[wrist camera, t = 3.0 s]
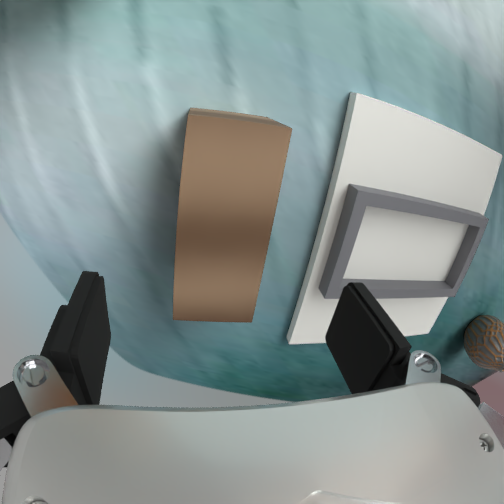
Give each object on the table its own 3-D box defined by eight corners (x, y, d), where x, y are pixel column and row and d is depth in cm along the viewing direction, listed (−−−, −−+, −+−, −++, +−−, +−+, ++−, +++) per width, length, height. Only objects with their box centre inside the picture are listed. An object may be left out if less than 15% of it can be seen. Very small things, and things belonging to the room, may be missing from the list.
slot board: (350, 92, 19) (367, 94, 17) (495, 152, 23) (513, 159, 21) (286, 336, 29) (293, 355, 27) (424, 328, 33) (434, 341, 31)
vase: (452, 350, 38) (482, 391, 31) (463, 317, 35) (500, 360, 27) (482, 333, 39) (512, 370, 31) (495, 301, 35) (530, 338, 28)
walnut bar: (190, 107, 19) (188, 114, 13) (266, 117, 20) (292, 128, 14) (175, 268, 24) (172, 319, 19) (239, 271, 25) (251, 322, 20)
